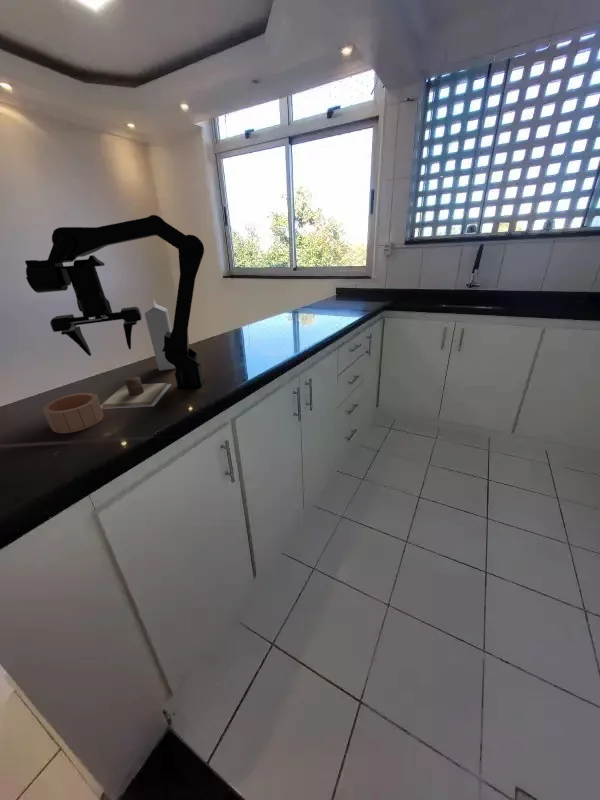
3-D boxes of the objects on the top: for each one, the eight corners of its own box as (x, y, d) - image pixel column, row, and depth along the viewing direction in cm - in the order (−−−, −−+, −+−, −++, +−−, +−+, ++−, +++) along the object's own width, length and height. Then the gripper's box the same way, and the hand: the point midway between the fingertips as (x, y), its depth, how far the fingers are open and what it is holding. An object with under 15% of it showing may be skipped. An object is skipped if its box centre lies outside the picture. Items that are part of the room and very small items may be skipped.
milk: (159, 372, 101) (141, 302, 91) (161, 366, 106) (144, 299, 96) (178, 369, 102) (162, 300, 93) (179, 364, 108) (164, 298, 98)
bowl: (112, 412, 76) (105, 391, 74) (89, 433, 67) (80, 411, 65) (70, 414, 76) (62, 394, 74) (42, 436, 67) (31, 414, 65)
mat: (172, 385, 90) (171, 384, 90) (154, 408, 77) (153, 406, 77) (123, 388, 90) (123, 386, 89) (97, 411, 77) (96, 409, 77)
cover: (167, 385, 89) (163, 369, 87) (151, 404, 78) (146, 387, 76) (124, 387, 88) (120, 372, 86) (103, 406, 78) (96, 389, 76)
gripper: (133, 282, 83) (149, 339, 90) (50, 289, 76) (75, 350, 83) (130, 285, 73) (149, 348, 80) (36, 294, 67) (65, 362, 74)
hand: (110, 352), depth 80 cm, fingers open, 9 cm apart
